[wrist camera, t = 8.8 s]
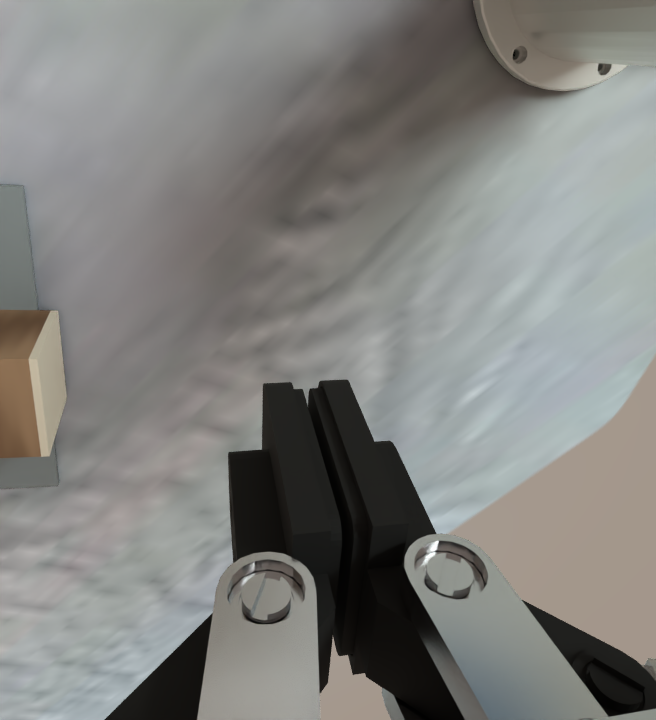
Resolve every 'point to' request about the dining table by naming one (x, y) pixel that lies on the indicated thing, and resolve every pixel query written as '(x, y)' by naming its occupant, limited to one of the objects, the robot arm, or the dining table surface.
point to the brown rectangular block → (30, 382)
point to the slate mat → (18, 292)
